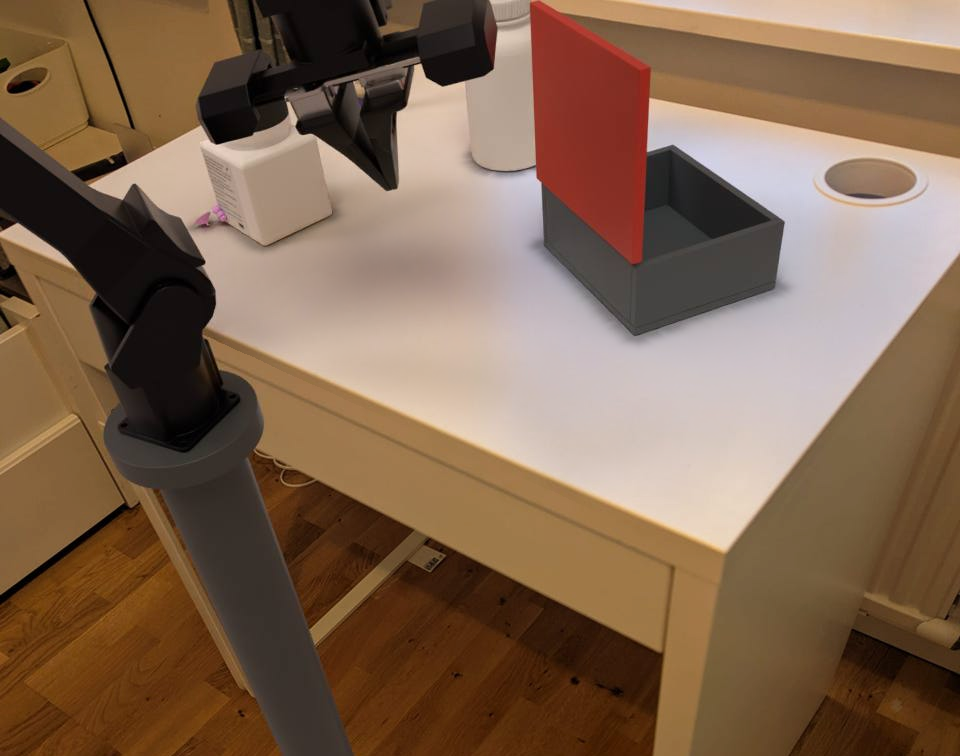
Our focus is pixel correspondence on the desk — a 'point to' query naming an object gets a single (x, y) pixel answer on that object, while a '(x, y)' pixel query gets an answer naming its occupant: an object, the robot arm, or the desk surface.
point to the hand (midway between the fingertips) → (393, 186)
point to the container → (269, 178)
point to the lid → (591, 126)
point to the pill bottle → (505, 95)
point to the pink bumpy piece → (205, 217)
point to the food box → (673, 246)
